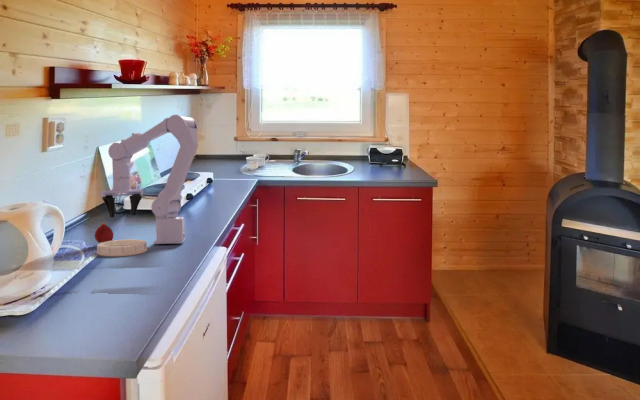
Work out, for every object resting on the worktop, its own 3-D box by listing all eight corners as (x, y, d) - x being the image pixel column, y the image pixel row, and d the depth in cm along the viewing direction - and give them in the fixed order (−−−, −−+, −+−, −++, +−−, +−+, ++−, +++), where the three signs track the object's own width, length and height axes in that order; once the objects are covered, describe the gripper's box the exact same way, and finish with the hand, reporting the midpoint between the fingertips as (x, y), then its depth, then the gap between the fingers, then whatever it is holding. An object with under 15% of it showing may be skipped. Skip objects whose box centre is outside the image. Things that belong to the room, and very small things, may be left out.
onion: (116, 244, 168) (115, 221, 168) (109, 247, 163) (108, 223, 162) (99, 244, 168) (98, 221, 168) (92, 247, 163) (91, 223, 162)
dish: (151, 247, 164) (151, 238, 163) (141, 255, 149) (141, 246, 149) (104, 248, 161) (104, 239, 161) (90, 257, 147) (89, 248, 146)
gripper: (136, 176, 178) (137, 213, 179) (96, 177, 168) (97, 216, 169) (145, 177, 173) (146, 215, 174) (104, 178, 163) (105, 218, 164)
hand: (122, 216), depth 171 cm, fingers open, 7 cm apart
